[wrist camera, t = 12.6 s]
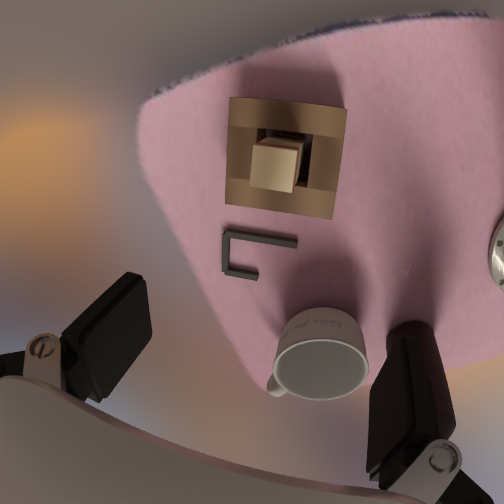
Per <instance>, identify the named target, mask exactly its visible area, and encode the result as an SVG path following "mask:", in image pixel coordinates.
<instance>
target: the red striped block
mask: <svg viewBox="0 0 504 504" xmlns="http://www.w3.org/2000/svg"><path fill="white" fill-rule="evenodd" d="M305 142H306V138H304V137H297V136H290V135H283V134H276V133H274V134H272V135H270V136H268V137H266V138H265V139H263V140H261V141H259V142H257V143H255V144H254V145H253V154H252V165H251V176H250V187H257V188H263V189H270V190H276V191H282V192H288V193H292V191H293V189H294V186H295V184H296V181H297V179H298V177H299V174H300V172H301V169H302V164H303V157H304V149H305Z"/></svg>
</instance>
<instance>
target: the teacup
mask: <svg viewBox="0 0 504 504" xmlns="http://www.w3.org/2000/svg"><path fill="white" fill-rule="evenodd" d="M368 372H369V365H368V361H367V357H366V348H365V342H364V337H363V333H362V330H361V328H360V326H359V325H358V323H357V322H356V320H355V319H354V318H352V317H351V316H350V315H349V314H347V313H345V312H343V311H341V310H338V309H335V308H329V307H317V308H311V309H308V310H305V311H302V312H300V313H299V314H297V315H295V316H294V317H293V318H292V319H290V320H289V322H288V323H287V324H286V325H285V327H284V329H283V331H282V333H281V336H280V340H279V343H278V348H277V353H276V358H275V360H274V364H273V374H272V375H271V377H270V378H269V380H268V383H267V391H268V392H269V393H270V394H271V395H273V396H275V397H278V396H282V395H283V394H285V393H286V392H287V391H288V392H289V393H291V394H293V395H296V396H299V397H301V398H305V399H310V400H328V399H329V400H330V399H336V398H339V397H343V396H346V395H348V394H350V393H352V392H354V391H355V390H356V389H358V388H359V387H360V386H361V385H362V384H363V383H364V381H365V380H366V378H367V375H368Z"/></svg>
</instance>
